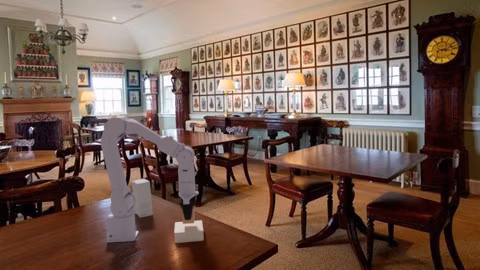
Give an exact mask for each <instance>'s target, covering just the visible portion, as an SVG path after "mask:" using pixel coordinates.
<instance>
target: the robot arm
mask: <svg viewBox="0 0 480 270" xmlns="http://www.w3.org/2000/svg"><path fill="white" fill-rule="evenodd" d="M125 135H138V136H140V137H141V138H143V139H146V140H147V141H149V142H151V143H153V144H154V145H155V144H156V147H157V149H158V150H159V151H161V152H162V153H164V154H166V155H168V156H169V157H171V158H173V159H175V160H176V162H177V164H178V166H177V167H178V169H177V174H178V196H179V197H180V198H179V199H180V200H178V205H179V206H180V209H181V210H182V211H183V214H184V218H185V220H191V217H192V209H193V206H194V207H195V204H196V200H195V199H196V196H197V195H199V194H200V193H199V191H198V190H197V191H196V179H195V177H196V176H195V171H196V170H195V163H194V159H195V154H196V153H195V150H194V149H193V148H192V147H191V146H190V145H186V144H185V143H181V142H179V141H177V140H176V139H174V136H173V135H167V134H166V135H163V136H162V135H160V134H158V133H157V132H155V131H154V130H153V129H151V128H149V127H147V126H146V125H144V124H142V123H141V122H139V121H138V120H136V119H134V118H132V117H131V118H130V117H129V116H128V115H123V114H122V115H119V116H113V117H110V118H109V119H108V120H106V122H105V123H104V124H103V131H102V134H101V138H100V147H101V150H102V151H101V152H102V155H103V159H104V162H105V167H106V172H107V175H108V180H109V184H110V187H111V194H110V198H109V199H110V206H109V208H110V209H109V210H110V212H111V214H108V215H107V217H106V224H105V225H106V239H107V240H106V243H118V242H119V243H120V242H121V243H123V242H124V243H125V242H134V241H136V239H137V236H138V235H139V233H140V232H139V231H138V230H136V214H135V211H134V205H135V202H136V199H135V197H134V195H133V192H132V189H131V187H129V186H128V183H127V179H126V176H125V171H124V168H123V163H122V158H121V154H120V150H119V147H118V143H119V141H120V140H121V139H122V138H123V137H124V136H125ZM182 211H181V212H182Z"/></svg>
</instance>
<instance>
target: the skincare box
mask: <svg viewBox="0 0 480 270" xmlns="http://www.w3.org/2000/svg"><path fill="white" fill-rule="evenodd" d="M131 188H132V189H131V191H132V194H133V195H134V197H135V199H136V202H135V205H134V206H133V209H134V214H135V215H137V216H138V217H139V218H144V217H150V216H153V215H154V213H153V211H154V210H153V201H152V192H151V191H152V190H151V182H150V180H147V179H146V178H139V179H135V180H131Z"/></svg>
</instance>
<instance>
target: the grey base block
mask: <svg viewBox="0 0 480 270" xmlns="http://www.w3.org/2000/svg"><path fill="white" fill-rule="evenodd" d="M173 233H174V244H180V243H188V242H202V241H204V240H205V238H204V227H203V220H202V219H201V220H194V223H189V224H183V221H175V222H174V231H173Z"/></svg>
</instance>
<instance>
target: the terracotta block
mask: <svg viewBox="0 0 480 270" xmlns="http://www.w3.org/2000/svg"><path fill="white" fill-rule="evenodd" d="M181 213H182V214H181V215H182V222H183V224H189V223H194V221H195V205H194V206H193V209H192V217H191V220H185V218H184V214H183V211H181Z"/></svg>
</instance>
